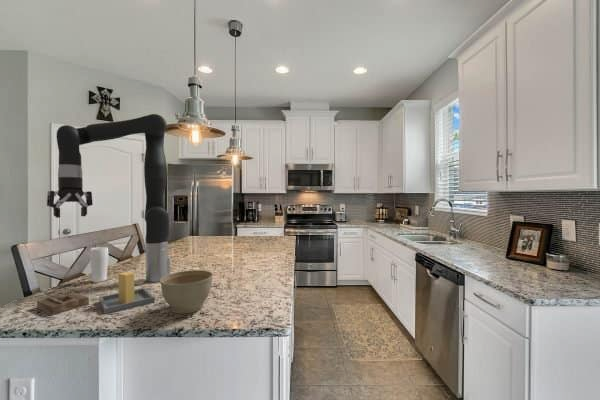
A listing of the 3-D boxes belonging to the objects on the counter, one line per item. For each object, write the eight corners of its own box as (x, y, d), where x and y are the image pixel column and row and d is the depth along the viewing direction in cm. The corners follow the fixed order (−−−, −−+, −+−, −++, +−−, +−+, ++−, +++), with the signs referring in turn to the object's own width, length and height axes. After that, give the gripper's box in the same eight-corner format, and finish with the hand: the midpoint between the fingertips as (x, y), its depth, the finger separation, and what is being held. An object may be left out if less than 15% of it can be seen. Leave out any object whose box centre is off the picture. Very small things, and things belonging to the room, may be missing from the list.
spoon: (148, 282, 123) (148, 278, 123) (113, 299, 103) (113, 295, 103) (139, 282, 124) (139, 278, 124) (102, 299, 103) (102, 294, 103)
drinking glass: (99, 283, 121) (98, 249, 121) (86, 282, 122) (85, 249, 122) (112, 279, 127) (111, 246, 127) (100, 278, 129) (99, 246, 129)
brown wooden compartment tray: (72, 298, 102) (72, 289, 102) (88, 304, 97) (88, 294, 97) (37, 308, 94) (36, 298, 94) (53, 314, 88) (52, 304, 88)
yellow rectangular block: (127, 299, 101) (127, 271, 101) (134, 301, 98) (134, 273, 98) (118, 301, 98) (118, 273, 98) (125, 303, 96) (125, 275, 96)
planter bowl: (156, 307, 94) (155, 275, 93) (203, 296, 103) (203, 267, 103) (166, 324, 81) (166, 287, 81) (220, 310, 91) (219, 277, 90)
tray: (144, 292, 109) (144, 287, 109) (154, 302, 98) (154, 297, 98) (99, 301, 99) (99, 296, 99) (104, 314, 88) (104, 308, 88)
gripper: (52, 175, 102) (52, 218, 102) (95, 177, 115) (95, 216, 115) (43, 176, 106) (44, 217, 106) (86, 178, 118) (86, 215, 118)
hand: (71, 216), depth 110 cm, fingers open, 8 cm apart
